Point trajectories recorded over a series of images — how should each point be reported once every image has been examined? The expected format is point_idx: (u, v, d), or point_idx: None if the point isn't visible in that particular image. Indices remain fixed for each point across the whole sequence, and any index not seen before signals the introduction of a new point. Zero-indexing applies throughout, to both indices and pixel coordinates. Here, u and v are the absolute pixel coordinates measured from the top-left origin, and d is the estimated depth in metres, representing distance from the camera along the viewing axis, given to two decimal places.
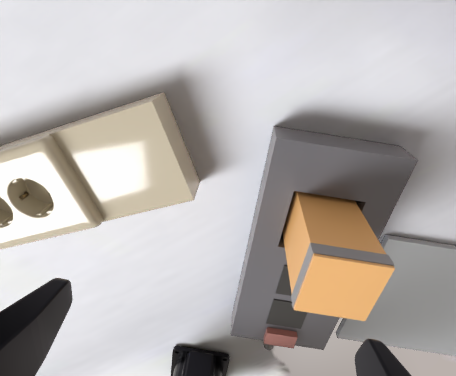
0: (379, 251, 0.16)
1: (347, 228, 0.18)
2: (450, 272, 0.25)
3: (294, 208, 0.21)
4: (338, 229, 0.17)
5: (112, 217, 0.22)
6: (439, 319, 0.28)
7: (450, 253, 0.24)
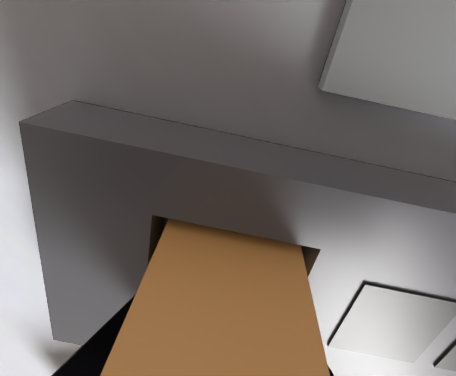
0: None
1: None
2: None
3: None
4: None
5: None
6: None
7: None
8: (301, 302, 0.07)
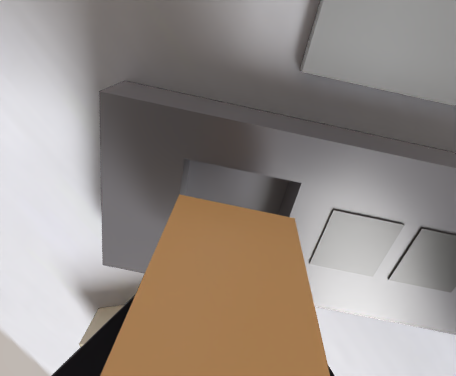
0: None
1: None
2: None
3: None
4: None
5: None
6: None
7: None
8: (301, 301, 0.07)
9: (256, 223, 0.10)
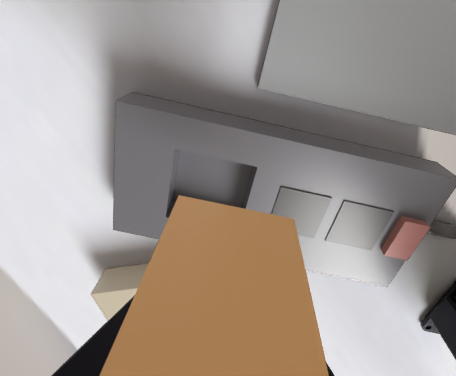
0: None
1: None
2: None
3: None
4: None
5: None
6: None
7: None
8: (300, 302, 0.07)
9: (255, 224, 0.10)
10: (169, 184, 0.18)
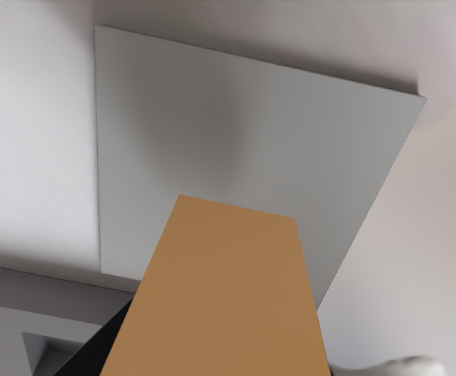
0: None
1: None
2: (147, 190, 0.14)
3: None
4: None
5: None
6: (271, 179, 0.14)
7: (107, 199, 0.15)
8: (302, 302, 0.07)
9: (256, 223, 0.10)
10: (27, 354, 0.19)
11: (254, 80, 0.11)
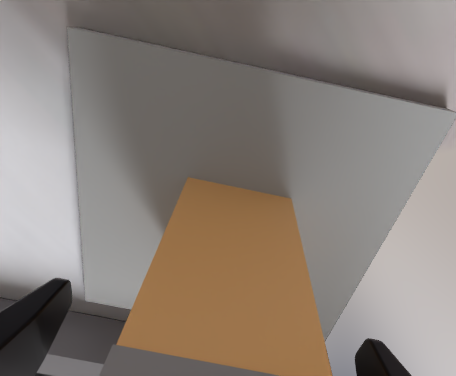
0: (120, 345, 0.06)
1: None
2: (133, 213, 0.13)
3: None
4: None
5: None
6: None
7: (89, 223, 0.13)
8: (296, 262, 0.08)
9: (256, 202, 0.11)
10: None
11: (255, 91, 0.10)
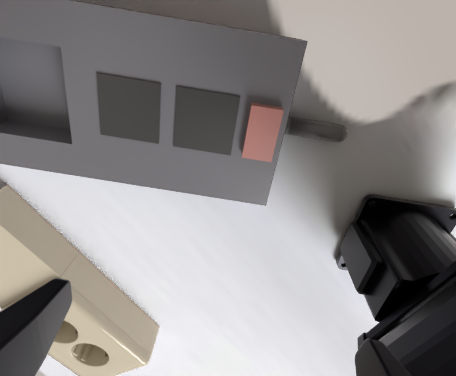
0: None
1: None
2: None
3: None
4: None
5: (52, 272, 0.21)
6: None
7: None
8: None
9: None
10: None
11: None
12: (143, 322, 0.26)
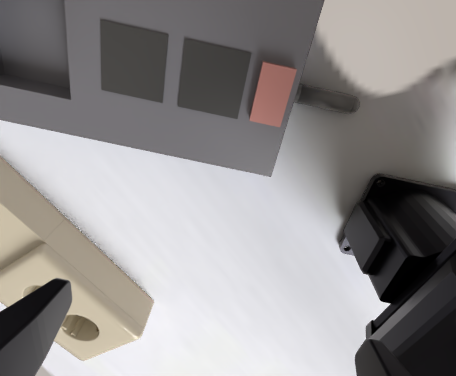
0: None
1: None
2: None
3: None
4: None
5: (34, 235, 0.20)
6: None
7: None
8: None
9: None
10: None
11: None
12: (136, 295, 0.25)
